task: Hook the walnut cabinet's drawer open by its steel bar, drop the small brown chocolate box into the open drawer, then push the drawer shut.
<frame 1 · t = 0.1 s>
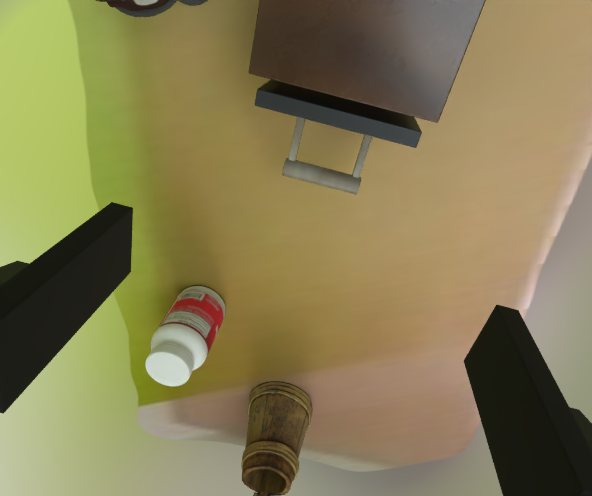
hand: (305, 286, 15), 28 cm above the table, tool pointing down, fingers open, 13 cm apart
pill bottle: (203, 303, 53), on the table
drawer: (352, 60, 32), point 5 cm above the table, slide at 1.0 cm
wooden mug: (279, 414, 60), on the table
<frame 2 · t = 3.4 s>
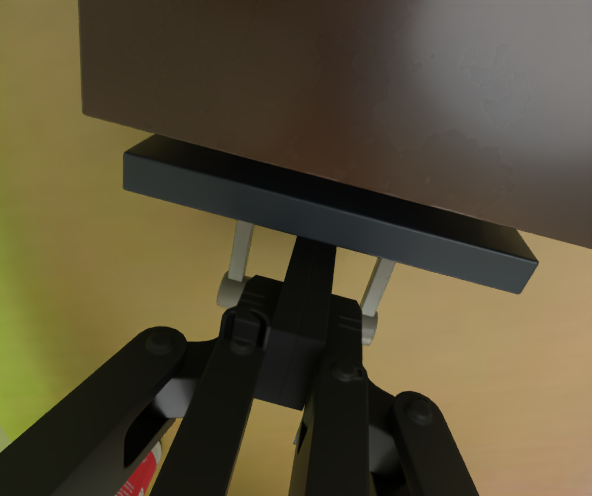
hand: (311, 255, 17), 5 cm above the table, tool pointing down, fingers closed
pill bottle: (128, 437, 34), on the table
drawer: (362, 75, 14), point 5 cm above the table, slide at 1.1 cm, touching gripper
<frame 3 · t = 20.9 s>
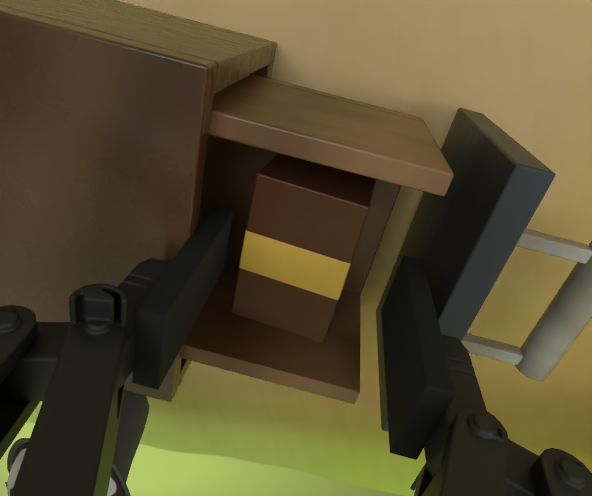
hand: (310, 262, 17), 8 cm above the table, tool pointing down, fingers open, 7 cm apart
drawer: (355, 245, 19), point 5 cm above the table, slide at 8.8 cm, touching chocolate
chocolate: (318, 213, 21), point 2 cm above the table, tilted 6°, touching drawer
sundae: (152, 346, 31), on the table
cabinet: (118, 138, 23), on the table
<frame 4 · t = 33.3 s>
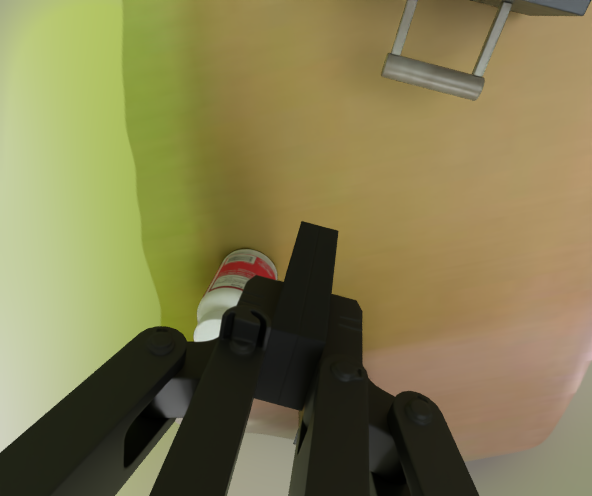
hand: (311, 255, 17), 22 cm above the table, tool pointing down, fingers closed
pill bottle: (250, 271, 45), on the table
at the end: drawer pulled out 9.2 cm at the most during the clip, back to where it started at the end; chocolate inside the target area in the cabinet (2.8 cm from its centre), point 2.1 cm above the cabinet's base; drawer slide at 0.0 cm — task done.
